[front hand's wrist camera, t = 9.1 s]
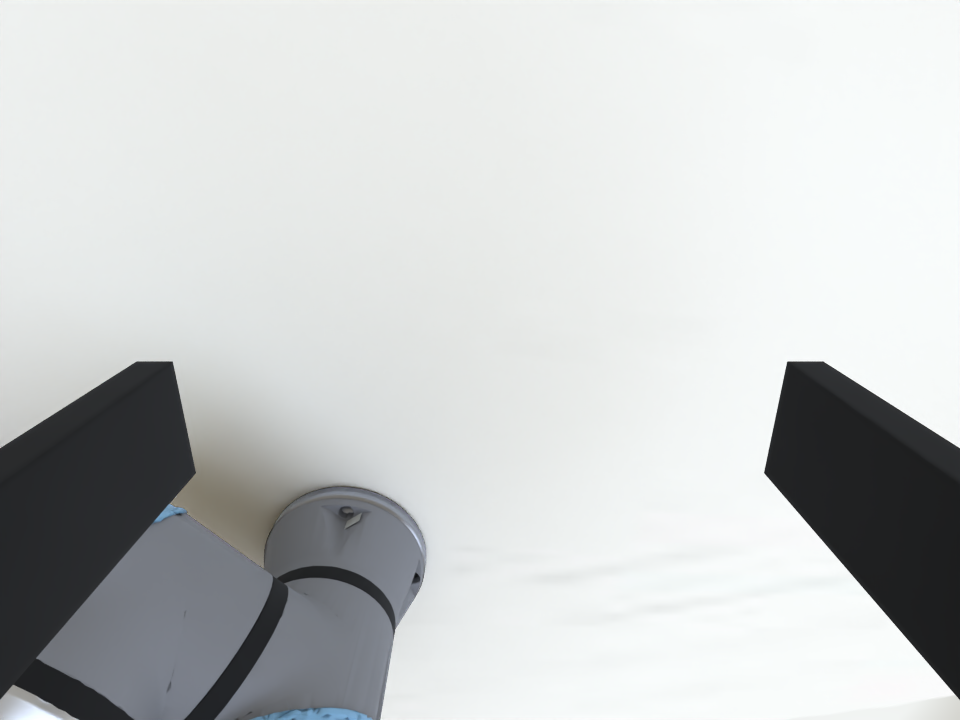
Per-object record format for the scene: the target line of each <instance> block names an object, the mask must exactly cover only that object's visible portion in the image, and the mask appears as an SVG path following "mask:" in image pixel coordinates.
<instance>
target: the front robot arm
mask: <svg viewBox="0 0 960 720" xmlns="http://www.w3.org/2000/svg"><path fill="white" fill-rule="evenodd" d="M195 473H196V472H195V467H194V462H193V457H192V452H191V447H190V443H189V438H188V433H187V428H186V423H185V419H184V414H183V409H182V404H181V399H180V395H179V390H178V385H177V380H176V375H175V371H174V366H173V362H135V363H134V364H132V365H131V366H129V367H127V368H126V369H124V370H123V371H121V372H120V373H118V374H116V375H115V376H113V377H112V378H110V379H109V380H107V381H105V382H104V383H102V384H101V385H99V386H98V387H96V388H94V389H93V390H91V391H90V392H88V393H87V394H85V395H83V396H82V397H80V398H79V399H77V400H76V401H74V402H72V403H71V404H69V405H68V406H66V407H65V408H63V409H61V410H60V411H58V412H57V413H55V414H54V415H52V416H50V417H49V418H47V419H46V420H44V421H43V422H41V423H39V424H38V425H36V426H35V427H33V428H32V429H30V430H28V431H27V432H25V433H24V434H22V435H20V436H19V437H17V438H16V439H14V440H13V441H11V442H9V443H8V444H6V445H5V446H3V447H2V448H0V720H380V717H381V712H382V706H383V700H384V694H385V688H386V682H387V676H388V670H389V664H390V658H391V652H392V646H393V639H394V633H395V629H396V627H397V626H398V624H399V622H400V621H401V619H402V618H403V616H404V614H405V613H406V611H407V610H408V608H409V606H410V605H411V603H412V602H413V600H414V598H415V597H416V595H417V593H418V591H419V589H420V587H421V585H422V582H423V578H424V572H425V564H426V547H425V542H424V539H423V536H422V534H421V531H420V529H419V528H418V526H417V524H416V523H415V522H414V520H413V519H412V518H411V517H410V515H409V514H408V513H407V512H406V511H405V510H404V509H402V508H401V507H400V506H399V505H397V504H396V503H394V502H393V501H391V500H390V499H388V498H386V497H384V496H382V495H379V494H377V493H374V492H371V491H368V490H364V489H359V488H352V487H332V488H325V489H320V490H317V491H313V492H311V493H308V494H306V495H304V496H302V497H300V498H298V499H297V500H295V501H294V502H292V503H291V504H290V505H289V506H288V507H287V508H286V509H285V510H284V511H283V512H282V513H281V514H280V516H279V517H278V519H277V521H276V522H275V524H274V526H273V528H272V530H271V532H270V534H269V536H268V538H267V541H266V545H265V550H264V569H263V568H261V567H260V566H259V565H257V564H256V563H254V562H253V561H251V560H250V559H249V558H247V557H246V556H245V555H243V554H242V553H240V552H239V551H238V550H236V549H235V548H233V547H232V546H231V545H229V544H228V543H226V542H225V541H224V540H222V539H221V538H219V537H218V536H217V535H215V534H214V533H213V532H211V531H210V530H208V529H207V528H206V527H204V526H203V525H201V524H200V523H199V522H197V521H196V520H194V519H193V518H192V517H190V516H189V515H187V511H186V510H185V509H183V508H179V507H174V506H173V505H171V504H169V503H170V502H171V501H172V500H173V499H174V498H175V497H176V495H177V494H178V493H179V492H180V491H181V490H182V488H183V487H184V486H185V485H186V484H187V483H188V481H189V480H190V479H191V478H192V477H193V476H194V475H195ZM764 473H765V475H766V476H767V477H768V478H769V479H770V480H771V481H772V483H773V484H774V485H775V486H776V487H777V488H778V490H779V491H780V492H781V493H782V494H783V495H784V497H785V498H786V499H787V500H788V501H789V502H790V503H791V505H792V506H793V507H794V508H795V509H796V510H797V512H798V513H799V514H800V515H801V516H802V517H803V519H804V520H805V521H806V522H807V523H808V524H809V526H810V527H811V528H812V529H813V530H814V531H815V532H816V534H817V535H818V536H819V537H820V538H821V539H822V541H823V542H824V543H825V544H826V545H827V546H828V548H829V549H830V550H831V551H832V552H833V553H834V555H835V556H836V557H837V558H838V559H839V560H840V561H841V563H842V564H843V565H844V566H845V567H846V568H847V570H848V571H849V572H850V573H851V574H852V575H853V577H854V578H855V579H856V580H857V581H858V582H859V583H860V585H861V586H862V587H863V588H864V589H865V590H866V592H867V593H868V594H869V595H870V596H871V597H872V599H873V600H874V601H875V602H876V603H877V604H878V606H879V607H880V608H881V609H882V610H883V611H884V612H885V614H886V615H887V616H888V617H889V618H890V619H891V621H892V622H893V623H894V624H895V625H896V626H897V628H898V629H899V630H900V631H901V632H902V633H903V635H904V636H905V637H906V638H907V639H908V640H909V641H910V643H911V644H912V645H913V646H914V647H915V648H916V650H917V651H918V652H919V653H920V654H921V655H922V657H923V658H924V659H925V660H926V661H927V662H928V663H929V665H930V666H931V667H932V668H933V669H934V670H935V672H936V673H937V674H938V675H939V676H940V677H941V679H942V680H943V681H944V682H945V683H946V684H947V686H948V687H949V688H950V689H951V690H952V691H953V692H954V694H955V695H956V696H957V697H958V698H959V699H960V448H958V447H957V446H955V445H954V444H952V443H951V442H949V441H947V440H946V439H944V438H943V437H941V436H940V435H938V434H936V433H935V432H933V431H932V430H930V429H928V428H927V427H925V426H924V425H922V424H921V423H919V422H917V421H916V420H914V419H913V418H911V417H910V416H908V415H906V414H905V413H903V412H902V411H900V410H899V409H897V408H895V407H894V406H892V405H891V404H889V403H888V402H886V401H884V400H883V399H881V398H880V397H878V396H877V395H875V394H873V393H872V392H870V391H869V390H867V389H866V388H864V387H862V386H861V385H859V384H858V383H856V382H855V381H853V380H851V379H850V378H848V377H847V376H845V375H844V374H842V373H840V372H839V371H837V370H836V369H834V368H833V367H831V366H829V365H828V364H826V363H825V362H787V366H786V370H785V375H784V380H783V385H782V390H781V395H780V399H779V404H778V409H777V414H776V419H775V423H774V428H773V433H772V438H771V443H770V447H769V452H768V457H767V462H766V467H765V472H764Z"/></svg>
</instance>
